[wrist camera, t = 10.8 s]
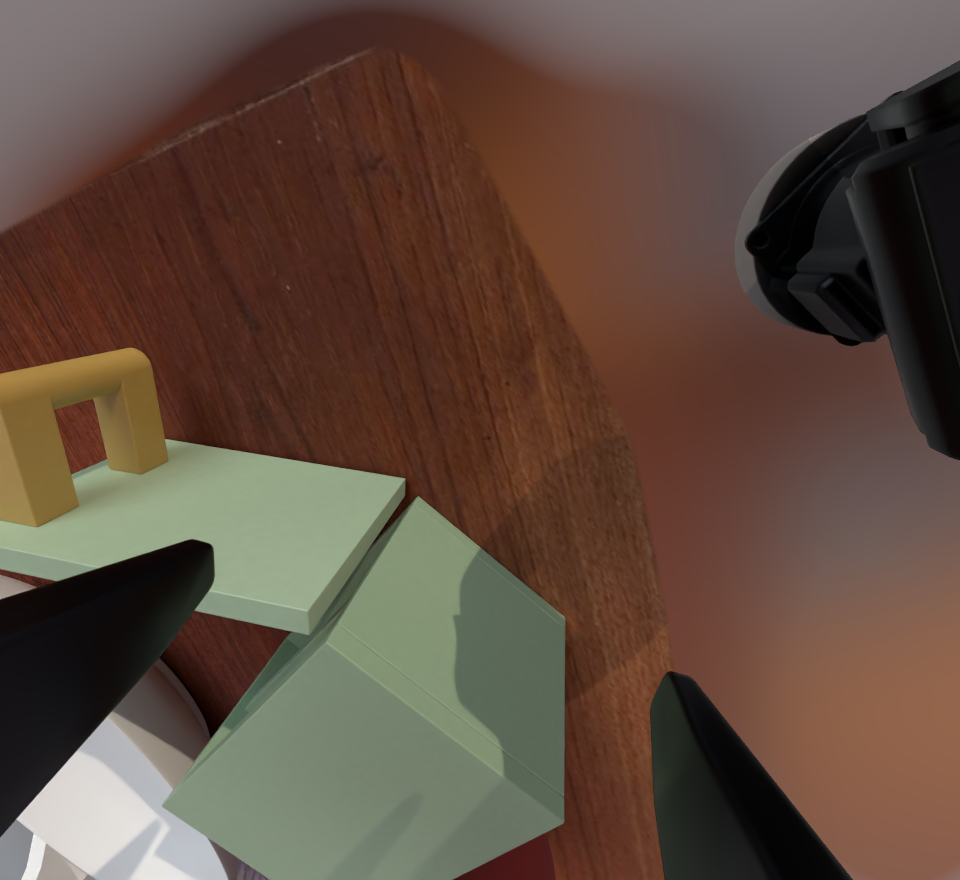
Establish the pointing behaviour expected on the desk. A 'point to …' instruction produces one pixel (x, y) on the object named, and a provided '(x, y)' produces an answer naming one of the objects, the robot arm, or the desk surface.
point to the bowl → (130, 788)
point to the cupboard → (395, 724)
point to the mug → (518, 864)
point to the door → (176, 498)
